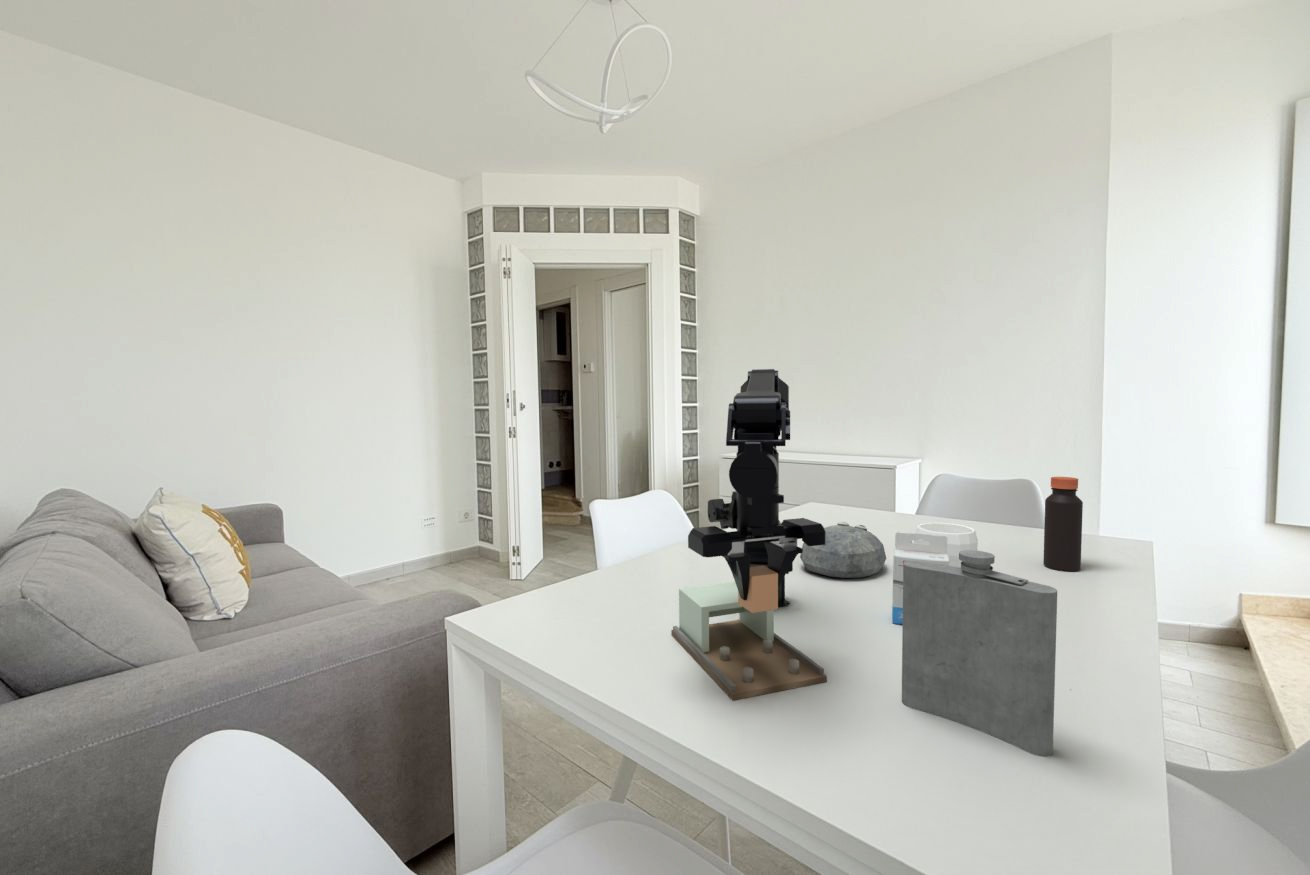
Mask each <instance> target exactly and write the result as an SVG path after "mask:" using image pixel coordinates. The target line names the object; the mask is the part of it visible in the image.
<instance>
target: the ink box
mask: <svg viewBox="0 0 1310 875" xmlns="http://www.w3.org/2000/svg"><path fill="white" fill-rule="evenodd" d="M894 537H895V539H894V540H895V542H894V543H895V544H894V545H895V549H894V550H893V563H892V564H893V565H892V566H893V567H892V568H893V570H892V606H891V608H892V611H891V612H892V613H891V615H892V617H891V618H892V620H891V621H892V622H891V623H892V624H896V625H902V626H903V563H904V562H906V561H920V562H927V563H934V564H941V565H947V566H949V557H948V554H947V537H946V536H941V535H930V534H918V533H915V532H903V531H902V532H900V531H898V532H896V533H895V536H894ZM919 539H923V540H924V541H929V542H930V544H929V545H926V544H915V543H914V542H913V541H914V540H919Z"/></svg>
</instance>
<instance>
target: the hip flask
mask: <svg viewBox="0 0 1310 875" xmlns="http://www.w3.org/2000/svg"><path fill="white" fill-rule="evenodd" d="M995 558H996V557H995V555H994V554H993V553H990V552H987V551H983V550H977V551H975V550H964V551H960V552H959V560H961V561H962V562H961V568H960V567H953V566H947V565H941V564H934V563H927V562H920V561H906V562H904V563H903V625H902V631H901V632H902V636H901V637H902V638H901V640H902V642H901V643H902V644H901V645H902V646H901V649H902V650H901V652H902V653H901V654H902V655H901V703H902V704H903V705H904V706H906V707H908V708H910V709H913V710H916V711H917V710H918V711H920V712H924V713H927V714H930V715H934V716H937V717H941V718H943V719H947V720H948V721H951V722H954V723H958V724H960V725H963V726H966V727H969V728H971V729H974V730H976V731H979V732H982V733H983V734H987V735H990V736H991V737H993V738H996V739H999V740H1001V741H1003V742H1006V743H1008V744H1011V745H1012V746H1015V747H1016V748H1018V749H1021V750H1023V751H1024V752H1027V753H1029V754H1031V755H1035V756H1039V757H1048V756H1051V755H1052V754H1053V752H1054V725H1055V724H1054V721H1055V689H1056V688H1055V685H1056V683H1055V682H1056V655H1057V654H1056V653H1057V650H1056V649H1057V622H1058V621H1057V618H1058V615H1057V614H1058V590H1057V588H1055V587H1053V586H1050V585H1046V584H1041V583H1038V582H1034V581H1029V580H1028V579H1025V578H1022V577H1018V576H1015V575H1011V574H1006V573H1003V572H999V571H997V570H994V567H993V566H992V565H993V564H994V563H995V562H996V561H995Z"/></svg>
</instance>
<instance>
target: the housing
mask: <svg viewBox="0 0 1310 875" xmlns="http://www.w3.org/2000/svg"><path fill="white" fill-rule="evenodd" d="M774 613H775V610H769V611H763V612H756V613H751V612H750V611H748V610H747V609H746V608H744V607H743V606H741V605H740V604H738V589H737V586H736V583H735V581H729V582H722V583H721V582H720V583H714V584H705V585H698V586H691V587H690V586H689V587H681V588H679V589H678V618H679V619H678V622H679V623H678V628H679V629H680V630H681V631H682V632H683V633H684V634H685V635H686V636H687V637H688V638H689V639H690V640H691V641H692V642H693V643H694V644H695V645H696V646H697V647H698V648H699V649H700V650H701V651H702V652H703V653H704V652H709V624H710V618H713V617H721V616H729V615H736V614H739V620H740V622H741V623H743V624H744V625H745V626H747V627H748V628H749V629H751V630H752V631H753V632H754V633H756V634H757V635H758V636H760V637H761V638H762V639H764V640H765V639H769V640H772V641H774V633H775V631H774V630H775V626H774V625H775V620H774V619H775V614H774Z"/></svg>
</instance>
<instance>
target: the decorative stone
mask: <svg viewBox="0 0 1310 875" xmlns="http://www.w3.org/2000/svg"><path fill="white" fill-rule="evenodd" d="M824 529H825V531H826V544H825V545H817V546H807V545H806V544H805V543H804V542H803V543H802V547H801V548H802V549H803V553H800V555H799V558H800V560H801V562H802V563H803V565H804V567H805V568H806V570H807V571H810V572H813V573H815V574H819V575H824V576H827V577H830V578H831V577H832V578H845V579H851V578H865V577H871V576H873V575H875V574H878V573H879V572H880V570H881V569H883V568H882V567H883V566H884V565H885V563H886V560H887V554H886V551H885V547H884V544H883V542H882V541H881V540H880V539H879V538H878V537H877V536H876V535H875V534H873V533H872V532H870V531H868V528H867V526H865V525H862V524H857V525H855V526H853V525H852V526H851V525H850V524H849V523H848V522H846V521H845V522H844V521H840V522H838V523H836V524H835V525H828V526H827V527H824Z"/></svg>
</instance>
